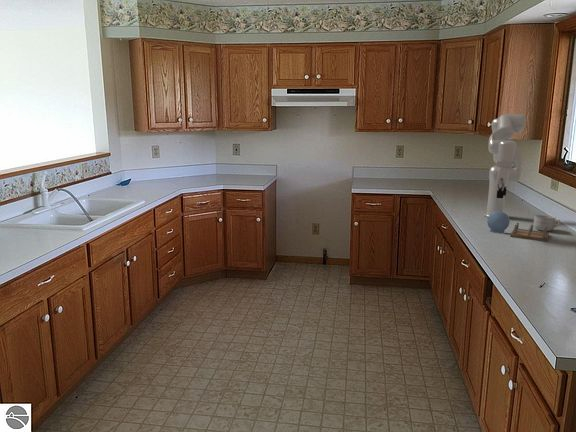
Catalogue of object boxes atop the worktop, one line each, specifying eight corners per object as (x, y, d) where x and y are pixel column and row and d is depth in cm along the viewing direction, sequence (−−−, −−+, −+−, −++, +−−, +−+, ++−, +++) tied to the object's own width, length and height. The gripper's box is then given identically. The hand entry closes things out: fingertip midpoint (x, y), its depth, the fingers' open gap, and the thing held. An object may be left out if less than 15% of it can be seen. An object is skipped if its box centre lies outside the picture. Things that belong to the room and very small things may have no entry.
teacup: (528, 228, 275) (530, 214, 273) (542, 226, 278) (544, 213, 276) (549, 234, 262) (550, 220, 260) (563, 232, 266) (565, 218, 264)
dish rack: (514, 230, 269) (515, 221, 268) (548, 235, 261) (549, 226, 260) (510, 236, 257) (511, 227, 256) (546, 241, 248) (547, 232, 247)
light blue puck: (486, 230, 270) (489, 209, 267) (508, 232, 265) (510, 212, 262) (486, 231, 268) (488, 210, 265) (507, 233, 263) (510, 213, 260)
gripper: (499, 163, 267) (496, 193, 271) (494, 166, 253) (490, 198, 256) (514, 164, 263) (510, 195, 267) (510, 167, 249) (506, 200, 253)
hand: (501, 196), depth 262 cm, fingers open, 9 cm apart
